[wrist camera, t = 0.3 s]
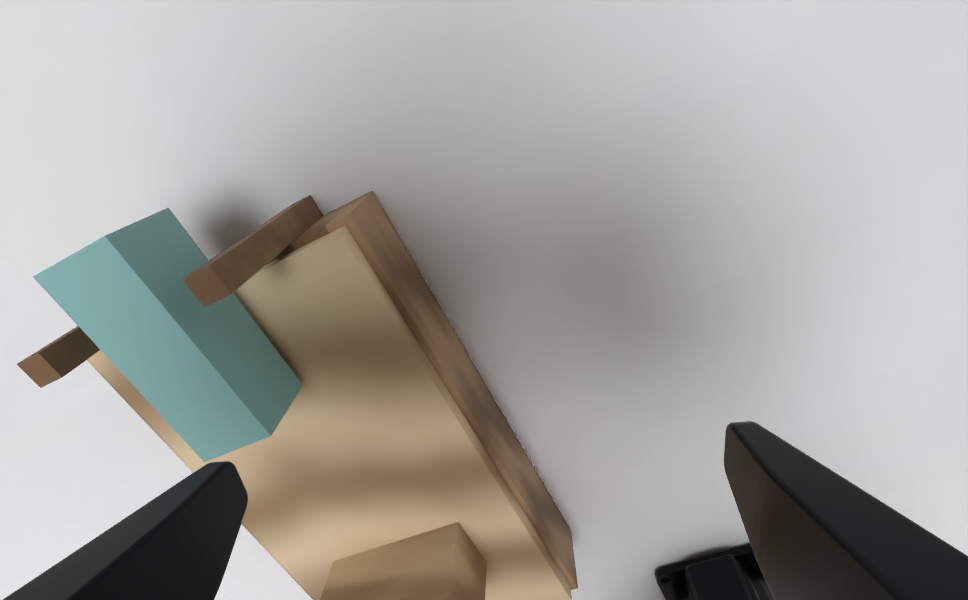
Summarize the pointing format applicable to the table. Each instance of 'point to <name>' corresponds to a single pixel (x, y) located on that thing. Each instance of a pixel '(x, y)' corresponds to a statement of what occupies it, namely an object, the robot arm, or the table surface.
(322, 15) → the table surface
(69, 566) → the robot arm
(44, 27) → the table surface
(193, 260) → the teal block
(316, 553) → the lid
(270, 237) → the toolbox
